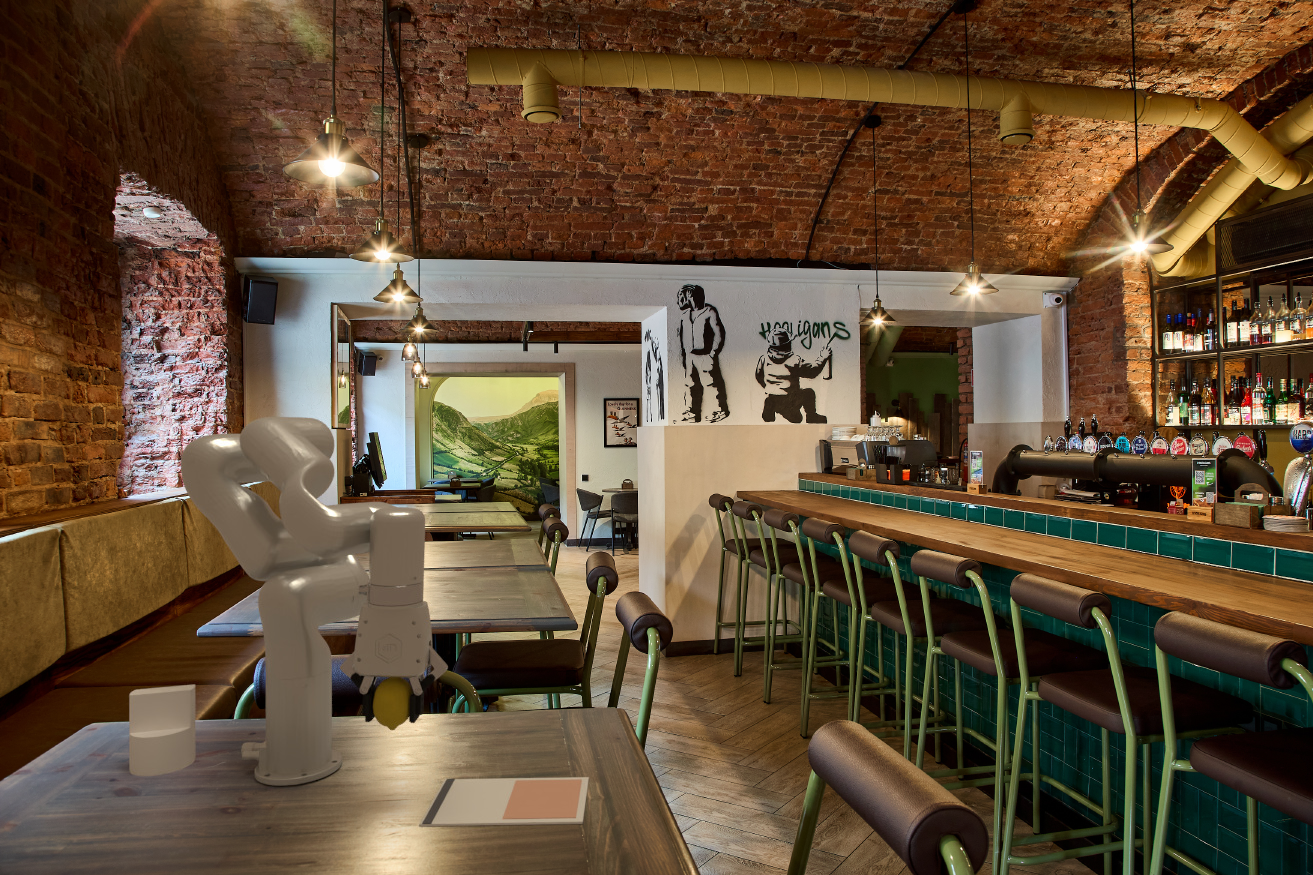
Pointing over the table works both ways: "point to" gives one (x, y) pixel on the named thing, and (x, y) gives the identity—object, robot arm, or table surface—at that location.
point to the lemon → (392, 702)
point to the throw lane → (508, 802)
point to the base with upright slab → (161, 729)
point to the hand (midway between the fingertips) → (393, 717)
